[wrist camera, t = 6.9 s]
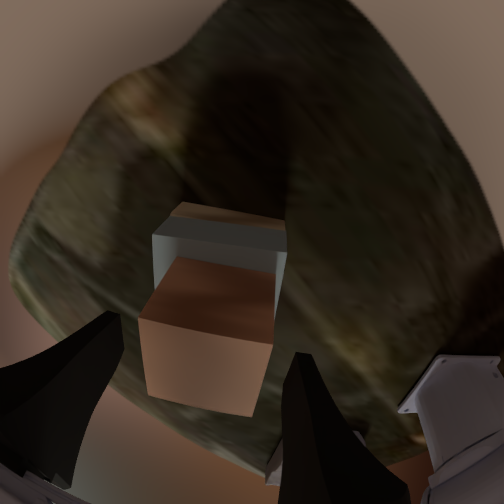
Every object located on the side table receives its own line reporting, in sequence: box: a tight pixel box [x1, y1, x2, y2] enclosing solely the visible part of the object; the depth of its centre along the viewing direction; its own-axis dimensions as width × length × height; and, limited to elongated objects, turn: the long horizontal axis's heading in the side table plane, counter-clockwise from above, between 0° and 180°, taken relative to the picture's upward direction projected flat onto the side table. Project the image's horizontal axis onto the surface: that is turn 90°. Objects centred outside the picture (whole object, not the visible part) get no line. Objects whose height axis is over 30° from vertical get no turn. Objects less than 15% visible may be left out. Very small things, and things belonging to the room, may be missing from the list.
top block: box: [152, 216, 287, 319], centre depth 15 cm, size 6×6×2 cm
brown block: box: [170, 202, 285, 231], centre depth 18 cm, size 6×6×2 cm
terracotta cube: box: [138, 256, 276, 417], centre depth 12 cm, size 4×4×4 cm
